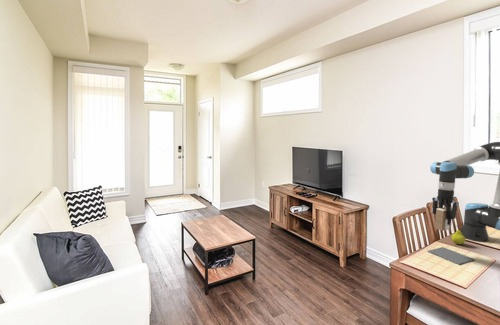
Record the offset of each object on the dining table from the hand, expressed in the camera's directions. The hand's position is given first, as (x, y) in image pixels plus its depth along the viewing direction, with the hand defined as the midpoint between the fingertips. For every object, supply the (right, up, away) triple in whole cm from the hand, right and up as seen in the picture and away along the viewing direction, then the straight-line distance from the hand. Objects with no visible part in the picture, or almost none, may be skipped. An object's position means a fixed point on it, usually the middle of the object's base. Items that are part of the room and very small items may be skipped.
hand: (442, 228), depth 159 cm
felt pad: (+2, -15, -3) cm, 16 cm away
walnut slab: (0, 0, 0) cm, 0 cm away
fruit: (+19, -13, +13) cm, 27 cm away
